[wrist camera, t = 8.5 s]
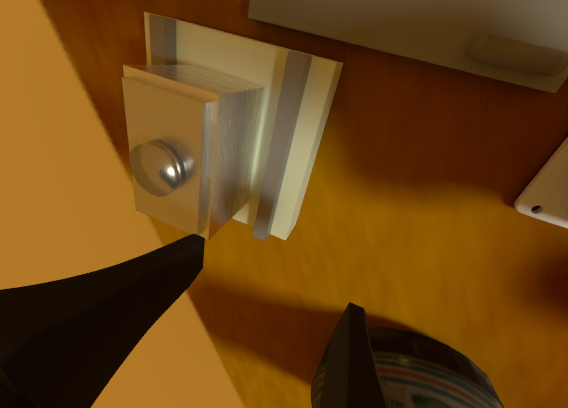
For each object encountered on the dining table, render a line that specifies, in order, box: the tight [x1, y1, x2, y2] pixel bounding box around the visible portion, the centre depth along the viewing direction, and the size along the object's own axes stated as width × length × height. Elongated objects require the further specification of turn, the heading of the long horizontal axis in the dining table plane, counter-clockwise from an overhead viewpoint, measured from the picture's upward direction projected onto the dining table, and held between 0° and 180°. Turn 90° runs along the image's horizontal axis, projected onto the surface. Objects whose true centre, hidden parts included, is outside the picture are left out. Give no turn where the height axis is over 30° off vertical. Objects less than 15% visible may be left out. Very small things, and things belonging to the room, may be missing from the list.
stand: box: [144, 12, 344, 241], centre depth 18 cm, size 12×12×4 cm
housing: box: [121, 65, 267, 240], centre depth 15 cm, size 8×5×6 cm, turn 167°
